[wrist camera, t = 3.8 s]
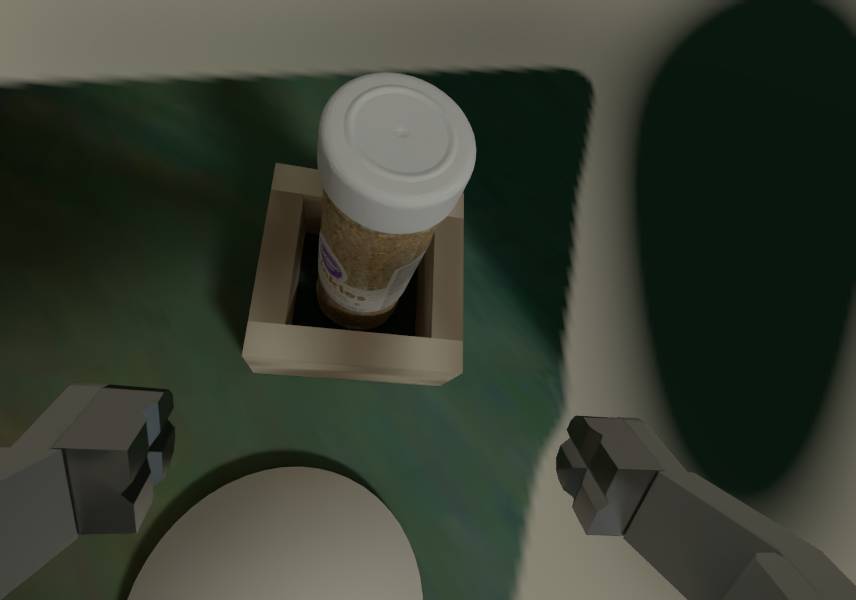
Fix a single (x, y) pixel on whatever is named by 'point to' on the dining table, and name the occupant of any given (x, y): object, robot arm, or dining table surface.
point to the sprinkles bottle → (384, 189)
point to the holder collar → (343, 349)
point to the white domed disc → (283, 544)
